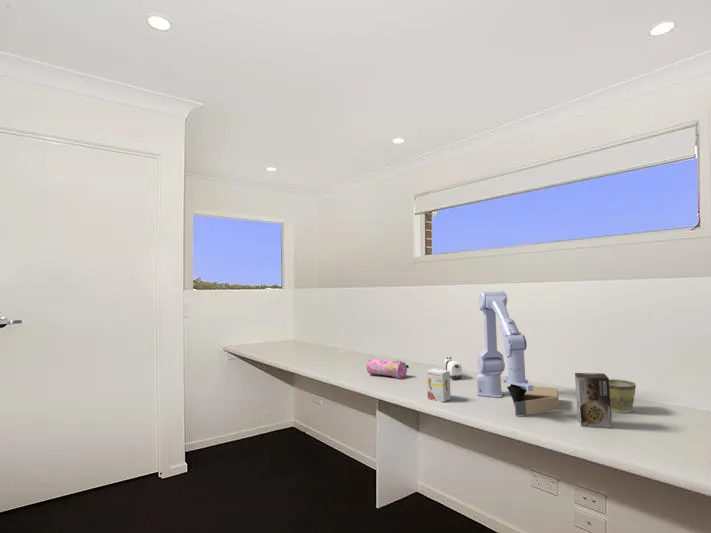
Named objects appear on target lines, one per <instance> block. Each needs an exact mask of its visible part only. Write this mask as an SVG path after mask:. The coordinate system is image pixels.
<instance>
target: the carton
mask: <svg viewBox="0 0 711 533" xmlns="http://www.w3.org/2000/svg"><path fill="white" fill-rule="evenodd" d="M549 397H558V398H559V388H558V387H549V386H548V387H547V386H546V387H545V386H544V387H543V386H533V391H526V393H525V395H524V397H523V401H526V400H534V399H541V398H549Z"/></svg>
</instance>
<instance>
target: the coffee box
mask: <svg viewBox="0 0 711 533" xmlns="http://www.w3.org/2000/svg"><path fill="white" fill-rule="evenodd" d="M574 377H575V378H574V379H575V397H576V409H577V422H578V423H579V425H580V427H586V428H601V429H603V428H607V429H612V428H613V421H612V419H613V418H612V411H611V404H610V390H609V377H608V375H606V374H605V373H601V372H600V373H597V372H595V373H593V372H592V373H591V372H575V373H574Z"/></svg>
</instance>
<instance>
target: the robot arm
mask: <svg viewBox="0 0 711 533" xmlns="http://www.w3.org/2000/svg"><path fill="white" fill-rule="evenodd" d="M507 304H508V295H507V293H506V292H505V291H504V290H501V291H481V292H480V293H479V296H478V305H479V306H478V307H479V310H480V311H481V312H483V326H484V328H483V329H484V331H483V333H484V349H483V351H481V352H480V353H478V360H477V369H478V370H479V372H477V375H476V381H477V382H476V385H477V386H476V387H477V396H482V397H491V398H502V396H503V394H504V392H505V391H502V383H507V384H509V385H508V386H507V387H506V389H507V391H508V392H509V393H510V396H511V398H512V402H513V405H514V406H515V402H518V401H523V397H524V395H525V393H526V391H533V384H531V383H529V380H528V379H526V368H525V367H526V365H525V363H526V362H525V351H526V349H527V343H528V342H527V339H526V336H525V334H523V333H522V332H520V330H519V329H518V327H517V324H516V323H515V321H514V319H513V318H510V316H509V312H508V309H507ZM497 318H498V320H499V324H498V326H499V327H498V328H499V329H500V331H501V334H502V337H503V346H504V350H505V355H506V357H507V358H506V360H507V376H501V375H502V374H503V372H504V371H505V369H506V367H505V366H506V364H505V361H504V355H503V353H501V352H500V351H498V342H497V340H498V338H497V337H498V336H497V335H498V334H497Z"/></svg>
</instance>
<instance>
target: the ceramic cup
mask: <svg viewBox="0 0 711 533" xmlns="http://www.w3.org/2000/svg"><path fill="white" fill-rule="evenodd" d="M636 387H637V385H636V382H634V381H631V380H626V379H616V378H615V379H614V378H612V379H611V378H610V379H609V390H610V404H611V412H614V413H617V414H631V413H632V412H633V408H634V406H633V405H634V400H635V395H636V389H637V388H636Z"/></svg>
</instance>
